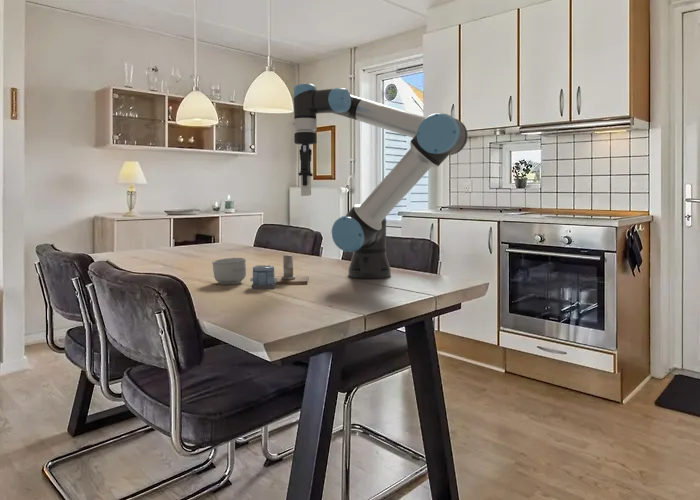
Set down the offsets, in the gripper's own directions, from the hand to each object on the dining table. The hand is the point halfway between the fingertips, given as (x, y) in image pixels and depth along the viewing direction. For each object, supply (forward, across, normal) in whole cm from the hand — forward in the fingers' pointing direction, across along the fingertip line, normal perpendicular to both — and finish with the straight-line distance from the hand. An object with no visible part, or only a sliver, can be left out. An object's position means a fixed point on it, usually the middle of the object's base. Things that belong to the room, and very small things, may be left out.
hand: (306, 195), depth 183 cm
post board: (+29, +7, -6) cm, 30 cm away
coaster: (+29, +16, -13) cm, 35 cm away
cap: (+28, +16, -13) cm, 34 cm away
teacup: (+29, +7, -25) cm, 39 cm away
